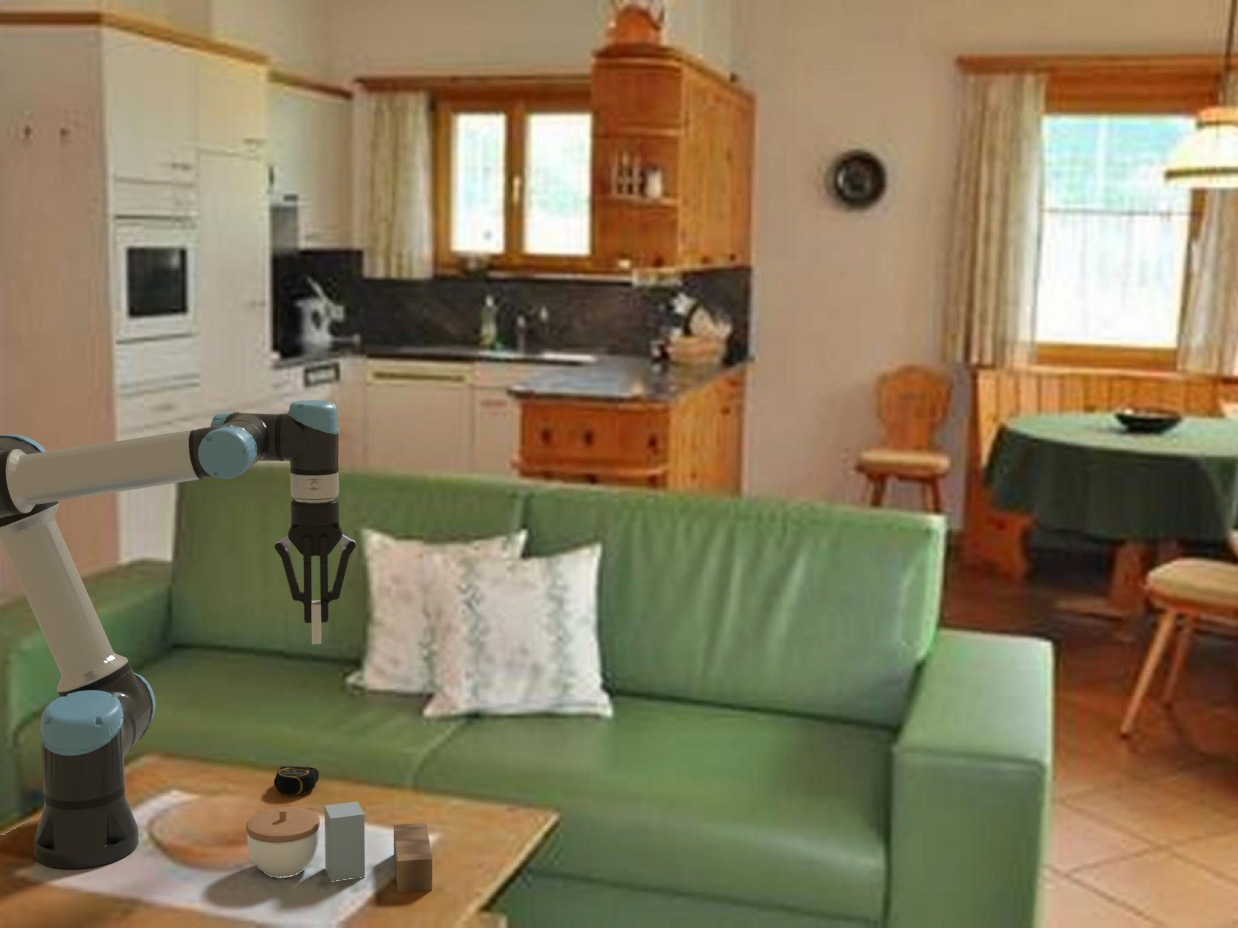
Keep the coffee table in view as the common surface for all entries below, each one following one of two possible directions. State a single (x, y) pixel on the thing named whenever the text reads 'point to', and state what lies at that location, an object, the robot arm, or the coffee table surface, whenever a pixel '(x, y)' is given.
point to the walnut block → (412, 858)
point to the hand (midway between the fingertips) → (316, 641)
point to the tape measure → (296, 779)
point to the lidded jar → (283, 839)
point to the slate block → (344, 841)
